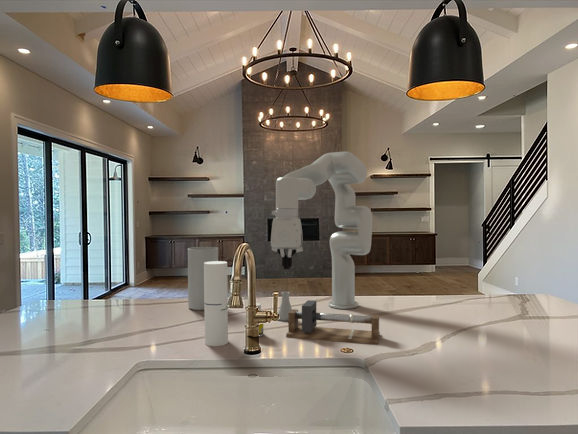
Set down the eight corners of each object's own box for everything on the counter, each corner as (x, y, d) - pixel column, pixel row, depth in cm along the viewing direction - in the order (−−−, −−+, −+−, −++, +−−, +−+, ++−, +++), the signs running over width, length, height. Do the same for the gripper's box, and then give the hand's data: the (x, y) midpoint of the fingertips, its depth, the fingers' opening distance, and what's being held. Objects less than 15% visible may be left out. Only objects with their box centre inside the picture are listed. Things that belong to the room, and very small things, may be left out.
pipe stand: (286, 336, 135) (286, 314, 135) (294, 328, 144) (294, 307, 144) (377, 344, 127) (377, 320, 127) (379, 334, 136) (379, 312, 136)
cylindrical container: (202, 340, 131) (201, 261, 131) (224, 337, 134) (224, 260, 134) (207, 347, 125) (206, 264, 124) (230, 344, 128) (229, 263, 127)
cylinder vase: (223, 304, 181) (222, 247, 180) (211, 311, 169) (210, 250, 168) (196, 303, 184) (195, 246, 183) (183, 309, 172) (182, 249, 171)
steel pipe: (292, 319, 138) (292, 311, 138) (294, 317, 140) (294, 309, 140) (375, 325, 130) (375, 317, 130) (375, 323, 133) (375, 314, 133)
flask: (295, 316, 160) (295, 290, 160) (294, 321, 153) (294, 294, 153) (277, 316, 161) (277, 290, 160) (274, 321, 154) (274, 294, 153)
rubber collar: (301, 331, 134) (301, 305, 134) (307, 324, 142) (307, 300, 142) (310, 332, 133) (310, 306, 133) (316, 325, 141) (316, 300, 141)
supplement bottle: (244, 334, 138) (243, 303, 138) (259, 331, 140) (259, 301, 140) (249, 338, 133) (249, 307, 133) (265, 336, 135) (265, 305, 135)
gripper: (262, 214, 138) (262, 269, 138) (306, 214, 134) (306, 271, 134) (269, 214, 145) (269, 266, 145) (311, 214, 141) (311, 268, 141)
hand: (287, 268), depth 139 cm, fingers closed
